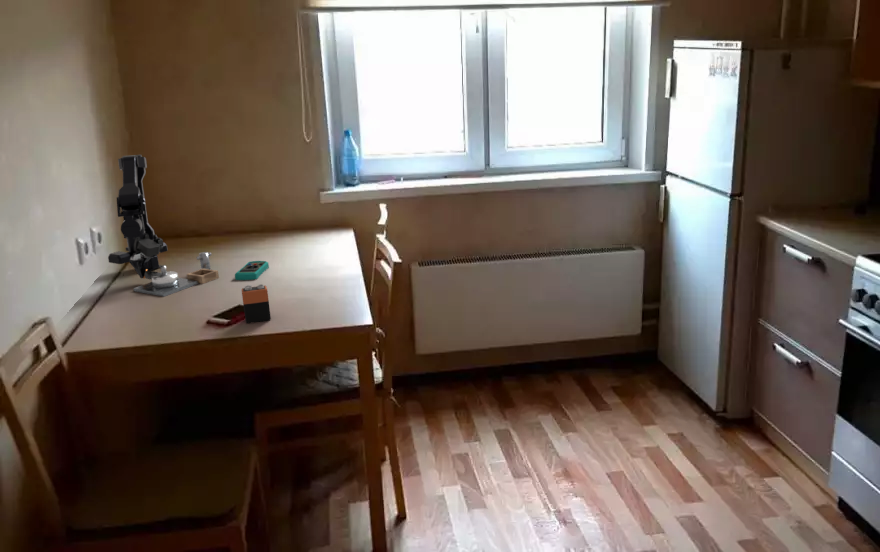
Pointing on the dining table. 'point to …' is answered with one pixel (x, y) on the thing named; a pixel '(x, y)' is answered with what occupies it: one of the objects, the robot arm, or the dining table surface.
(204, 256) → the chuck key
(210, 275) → the key socket
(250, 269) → the digital multimeter
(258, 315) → the battery
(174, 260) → the dining table surface
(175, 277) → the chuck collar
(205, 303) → the dining table surface
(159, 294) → the chuck base
